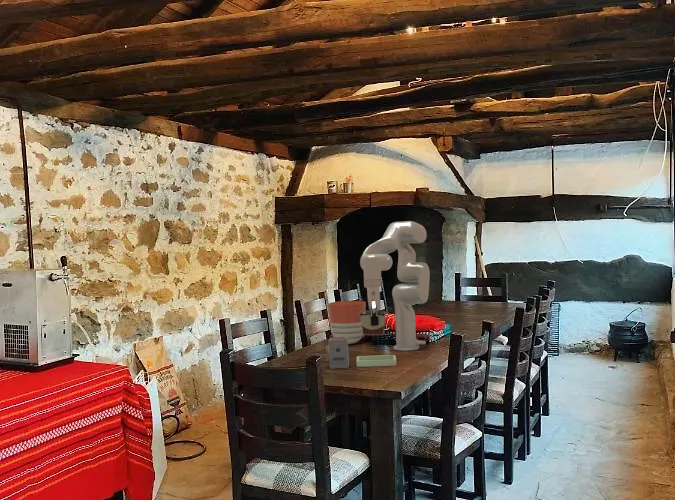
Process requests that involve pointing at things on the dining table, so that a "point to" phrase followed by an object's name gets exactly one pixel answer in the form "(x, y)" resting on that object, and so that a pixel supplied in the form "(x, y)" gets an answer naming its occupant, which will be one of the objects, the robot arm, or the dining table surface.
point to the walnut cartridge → (327, 354)
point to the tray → (376, 360)
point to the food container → (366, 323)
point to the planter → (346, 319)
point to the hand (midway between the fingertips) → (374, 323)
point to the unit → (338, 352)
